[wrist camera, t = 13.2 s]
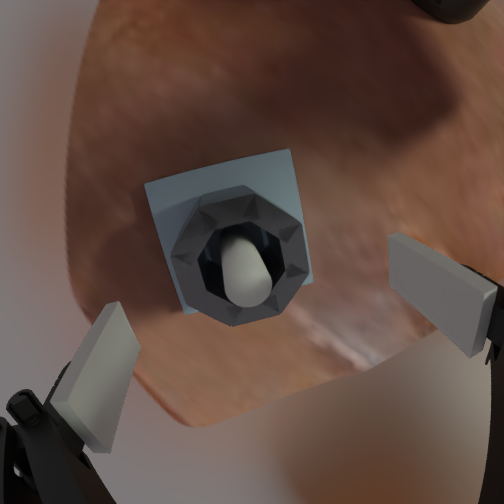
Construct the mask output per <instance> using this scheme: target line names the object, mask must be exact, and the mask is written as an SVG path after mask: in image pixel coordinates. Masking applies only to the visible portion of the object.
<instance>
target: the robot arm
mask: <svg viewBox="0 0 504 504" xmlns="http://www.w3.org/2000/svg"><path fill="white" fill-rule="evenodd" d="M412 1H414V2H415V3H416V4H417V5H418V6H420V7H421V8H422V9H423V10H425V11H426V12H428V13H429V14H431V15H432V16H434V17H436V18H438V19H440V20H442V21H444V22H447V23H451V24H459V23H462V22H465V21H467V20H470V19H472V18H473V17H474V16H475V15H476V14H477V13H478V12H479V11H480V10H481V9H482V8H483V7H484V6H485V5H486V4H487V3H488V2H489V1H490V0H412ZM388 252H389V286H391V287H392V288H393V289H394V290H395V291H396V292H398V293H399V294H400V295H401V296H402V297H403V298H404V299H406V300H407V301H408V302H409V303H410V304H411V305H412V306H414V307H415V308H416V309H417V310H418V311H419V312H420V313H421V314H423V315H424V316H425V317H426V318H427V319H428V320H429V321H430V322H431V323H433V324H434V325H435V326H436V327H437V328H438V329H439V330H440V331H441V332H442V333H443V334H445V335H446V336H447V337H448V338H449V339H450V340H451V341H452V342H453V343H454V344H455V345H456V346H457V347H459V349H460V350H462V351H463V352H464V353H465V354H466V355H467V356H468V357H469V358H471V357H472V356H474V355H476V354H477V353H479V352H481V351H482V350H483V347H484V344H485V340H486V337H487V338H488V339H489V340H491V341H492V342H491V346H490V349H489V352H488V355H487V358H486V362H485V365H487V364H488V361H489V360H490V362H491V421H490V435H489V444H488V453H487V460H486V467H485V474H484V479H483V484H482V489H481V493H480V498H479V502H478V504H504V287H503V286H501V285H499V284H498V283H496V282H495V281H493V280H491V279H490V278H488V277H486V276H483V274H481V273H479V272H477V271H476V270H474V269H473V268H471V267H469V266H466V265H463V264H459V263H457V262H455V261H453V260H452V259H450V258H448V257H446V256H444V255H443V254H441V253H439V252H437V251H435V250H433V249H432V248H430V247H428V246H426V245H424V244H422V243H420V242H418V241H416V240H415V239H413V238H411V237H409V236H407V235H405V234H403V233H401V232H399V233H395V234H391V235H388ZM140 348H141V347H140V345H139V343H138V341H137V339H136V337H135V334H134V332H133V330H132V328H131V326H130V324H129V321H128V319H127V317H126V315H125V313H124V310H123V308H122V306H121V303H120V301H117V302H113V303H108V304H106V305H105V307H104V308H103V310H102V311H101V313H100V314H99V316H98V318H97V319H96V321H95V322H94V324H93V326H92V327H91V329H90V331H89V332H88V334H87V336H86V337H85V339H84V340H83V342H82V344H81V346H80V347H79V349H78V351H77V353H76V354H75V356H74V358H73V360H72V361H70V362H69V363H68V364H67V365H66V366H65V367H64V368H63V370H62V371H61V373H60V375H59V376H58V379H57V380H56V382H55V384H54V385H55V386H53V387H52V389H51V391H50V393H49V395H48V397H47V399H46V401H45V402H44V404H43V405H42V404H41V403H40V401H39V400H38V398H37V397H36V396H35V394H34V393H33V392H32V390H29V389H24V390H21V391H19V392H17V393H16V394H15V395H13V396H12V397H11V398H10V400H9V401H8V403H7V406H6V410H7V411H8V412H9V414H10V415H11V416H12V417H13V418H14V420H15V421H16V422H17V423H18V425H14V426H11V425H10V424H9V422H7V420H6V419H5V418H4V417H0V504H116V502H115V501H114V499H113V498H112V496H111V495H110V493H109V492H108V490H107V488H106V487H105V485H104V484H103V482H102V480H101V479H100V477H99V476H98V474H97V472H96V470H95V469H94V467H93V465H92V464H91V462H90V460H89V458H88V456H87V455H86V454H85V453H84V452H83V451H82V450H83V447H84V444H86V445H87V446H88V447H89V448H90V449H91V450H92V451H93V453H111V448H112V444H113V441H114V437H115V433H116V429H117V425H118V421H119V418H120V414H121V411H122V407H123V404H124V400H125V397H126V393H127V390H128V386H129V383H130V380H131V377H132V373H133V370H134V367H135V364H136V361H137V358H138V355H139V351H140ZM14 467H15V468H16V469H18V470H19V471H20V476H17V475H16V474H15V472H14Z"/></svg>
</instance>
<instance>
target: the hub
mask: <svg viewBox="0 0 504 504" xmlns="http://www.w3.org/2000/svg"><path fill="white" fill-rule="evenodd" d="M248 221H251V222H253V223H254V224H256V225H258V226H259V227H261V228H263V229H264V230H265V232H266V237H267V242H268V244H267V245H266V247H265V248H264V250H263V251H262V253H261V255H260V257H261V259H262V261H263V263H264V265H265V267H266V269H267V271H268V273H269V275H270V277H271V280H272V289H271V292H270V294H269V296H268V297H267V299H266V300H265V301H263V302H262V303H261V304H259V305H257V306H254V307H241V306H238V305H236V304H234V303H233V302H231V301H230V300H229V298H228V297H227V295H226V293H225V287H224V278H223V269H222V266H220V265H218V264H216V263H214V262H212V261H211V260H209V259H207V256H206V253H205V249H204V247H205V245H206V243H207V242H208V240H209V238H210V237H211V235H212V234H213V232H214V230H216V229H220V228H224V227H228V226H232V225H236V224H240V223H244V222H248ZM170 255H171V256H170V258H171V261H172V264H173V268H174V271H175V274H176V277H177V280H178V283H179V286H180V289H181V291H182V294H183V297H184V300H185V303H186V304H187V305H188V306H190V307H192V308H194V309H196V310H198V311H200V312H202V313H204V314H206V315H208V316H210V317H212V318H214V319H216V320H218V321H220V322H222V323H224V324H226V325H229V326H231V325H232V327H233V326H237V325H241V324H245V323H249V322H253V321H257V320H261V319H265V318H268V317H272V316H276V315H280V313H282V312H283V310H284V309H285V308H286V306H287V305H288V303H289V302H290V301H291V299H292V298H293V296H294V295H295V294H296V292H297V291H298V289H299V288H300V287H301V285H302V284H303V282H304V281H305V280H306V278H307V277H308V275H309V272H310V271H309V264H308V258H307V252H306V245H305V239H304V233H303V228H302V224H301V222H300V221H298V220H297V219H296V218H294V217H293V216H291V215H290V214H289V213H287V212H286V211H285V210H283V209H282V208H280V207H279V206H278V205H276V204H274V203H273V202H271V201H270V200H268V199H267V198H265V197H263V196H262V195H260V194H259V193H257V192H255V191H254V190H252V189H251V188H249V187H247V186H246V185H239V186H235V187H230V188H226V189H222V190H218V191H214V192H210V193H206V194H202V196H200V198H199V199H198V201H197V203H196V204H195V206H194V208H193V210H192V211H191V213H190V215H189V216H188V218H187V220H186V222H185V223H184V225H183V227H182V229H181V230H180V232H179V235H178V237H177V240H176V242H175V245H174V247H173V249H172V252H171V254H170Z"/></svg>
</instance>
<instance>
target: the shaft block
mask: <svg viewBox="0 0 504 504" xmlns="http://www.w3.org/2000/svg"><path fill="white" fill-rule="evenodd" d="M239 185H246V186H247V187H249V188H251V189H252V190H254V191H255V192H257V193H259V194H260V195H262V196H263V197H265V198H267V199H268V200H270V201H271V202H273V203H274V204H276V205H278V206H279V207H280V208H282V209H283V210H285V211H286V212H287V213H289V214H290V215H291V216H293V217H294V218H296V219H297V220H298V221H300V222H301V224H302V228H303V233H304V239H305V245H306V252H307V258H308V264H309V271H310V272H309V275H308V277H307V278H306V280H305V281H304V282H303V284H302V285H306V284H309V283H313V276H312V270H311V263H310V256H309V250H308V244H307V238H306V232H305V226H304V220H303V214H302V208H301V203H300V197H299V192H298V187H297V181H296V176H295V171H294V166H293V161H292V156H291V151H290V149H283V150H278V151H273V152H268V153H263V154H258V155H253V156H249V157H244V158H240V159H235V160H231V161H226V162H222V163H218V164H214V165H210V166H206V167H202V168H198V169H194V170H190V171H187V172H183V173H179V174H176V175H172V176H169V177H165V178H162V179H158V180H155V181H151V182H148V183H145V184H144V187H145V190H146V194H147V198H148V201H149V205H150V209H151V212H152V216H153V219H154V223H155V226H156V229H157V233H158V236H159V239H160V243H161V246H162V249H163V252H164V255H165V258H166V262H167V265H168V268H169V271H170V274H171V277H172V280H173V283H174V286H175V288H176V291H177V294H178V297H179V300H180V303H181V305H182V308H183V311H184V314H185V315H187V314H191V313H196V312H200V311H198V310H196V309H194V308H192V307H190V306H188V305H187V304H186V303H185V300H184V297H183V294H182V291H181V289H180V286H179V283H178V280H177V277H176V274H175V271H174V268H173V264H172V261H171V258H170V256H171V255H170V254H171V252H172V249H173V247H174V245H175V242H176V240H177V237H178V235H179V232H180V230H181V229H182V227H183V225H184V223H185V222H186V220H187V218H188V216H189V215H190V213H191V211H192V210H193V208H194V206H195V204H196V203H197V201H198V199H199V198H200V196H202V194H206V193H210V192H214V191H218V190H222V189H226V188H230V187H235V186H239ZM267 244H268V242H267V237H266V232H265V230H264V229H263V228H261V227H259V226H258V225H256V224H254V223H253V222H251V221H248V222H244V223H240V224H236V225H232V226H228V227H224V228H220V229H216V230H214V232H213V234H212V235H211V237H210V238H209V240H208V242H207V243H206V245H205V247H204V249H205V253H206V256H207V259H209V260H211V261H212V262H214V263H216V264H218V265H220V266H222V269H223V278H224V287H225V293H226V295H227V297H228V298H229V300H230V301H231V302H233V303H234V304H236V305H238V306H241V307H254V306H257V305H259V304H261V303H262V302H263V301H265V300H266V299H267V297H268V296H269V294H270V292H271V289H272V280H271V277H270V275H269V273H268V271H267V269H266V267H265V265H264V263H263V261H262V259H261V257H260V255H261V253H262V251H263V250H264V248H265V247H266V245H267ZM302 285H301V286H302Z"/></svg>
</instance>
